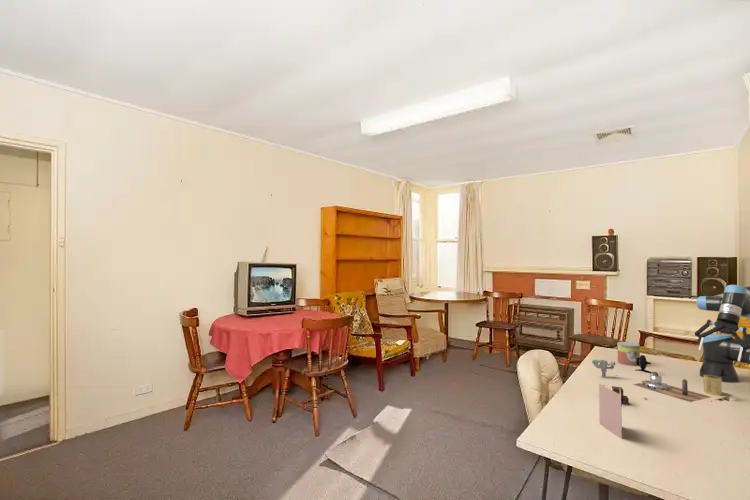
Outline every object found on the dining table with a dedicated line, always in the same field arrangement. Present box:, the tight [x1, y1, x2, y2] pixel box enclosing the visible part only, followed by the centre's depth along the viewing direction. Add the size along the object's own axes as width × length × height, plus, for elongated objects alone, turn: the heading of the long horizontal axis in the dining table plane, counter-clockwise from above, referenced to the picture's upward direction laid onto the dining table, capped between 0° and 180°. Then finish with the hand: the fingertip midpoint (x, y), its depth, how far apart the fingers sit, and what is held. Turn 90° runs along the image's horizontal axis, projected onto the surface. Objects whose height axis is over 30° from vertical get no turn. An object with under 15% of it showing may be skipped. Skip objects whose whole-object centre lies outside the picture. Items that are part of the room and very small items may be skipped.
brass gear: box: [703, 375, 731, 402], centre depth 167 cm, size 11×11×9 cm
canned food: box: [616, 341, 641, 367], centre depth 221 cm, size 11×11×12 cm
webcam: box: [634, 354, 653, 375], centre depth 202 cm, size 8×8×10 cm
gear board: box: [632, 371, 711, 403], centre depth 170 cm, size 16×24×8 cm, turn 23°
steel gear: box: [641, 374, 671, 390], centre depth 176 cm, size 11×11×5 cm
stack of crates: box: [611, 385, 630, 406], centre depth 160 cm, size 15×15×7 cm
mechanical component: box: [592, 359, 616, 379], centre depth 189 cm, size 3×10×10 cm, turn 79°
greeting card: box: [598, 383, 624, 439], centre depth 132 cm, size 11×7×15 cm, turn 148°
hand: (718, 355), depth 171 cm, fingers open, 13 cm apart
